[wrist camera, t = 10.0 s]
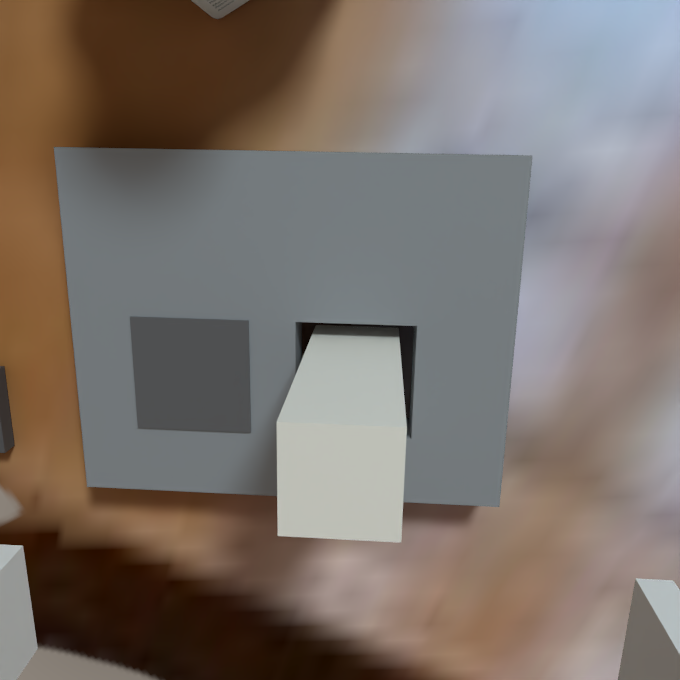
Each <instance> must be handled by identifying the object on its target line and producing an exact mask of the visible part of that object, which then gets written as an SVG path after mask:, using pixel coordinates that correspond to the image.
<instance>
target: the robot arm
mask: <svg viewBox="0 0 680 680" xmlns="http://www.w3.org/2000/svg"><path fill="white" fill-rule="evenodd" d="M37 649H38V648H37V641H36V634H35V627H34V620H33V613H32V606H31V599H30V592H29V585H28V578H27V571H26V564H25V557H24V550H23V546H18V545H0V680H17V678H18V677H19V675H20V674H21V672H22V671H23V670H24V668H25V667H26V665H27V664H28V662H29V661H30V659H31V658H32V656H33V655H34V654H35V652H36V651H37ZM618 680H680V590H679V588H678V587H677V585H676V584H675V582H674V581H671V580H653V579H635V584H634V590H633V596H632V602H631V607H630V613H629V619H628V625H627V630H626V636H625V642H624V648H623V653H622V659H621V665H620V671H619V676H618Z"/></svg>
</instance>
